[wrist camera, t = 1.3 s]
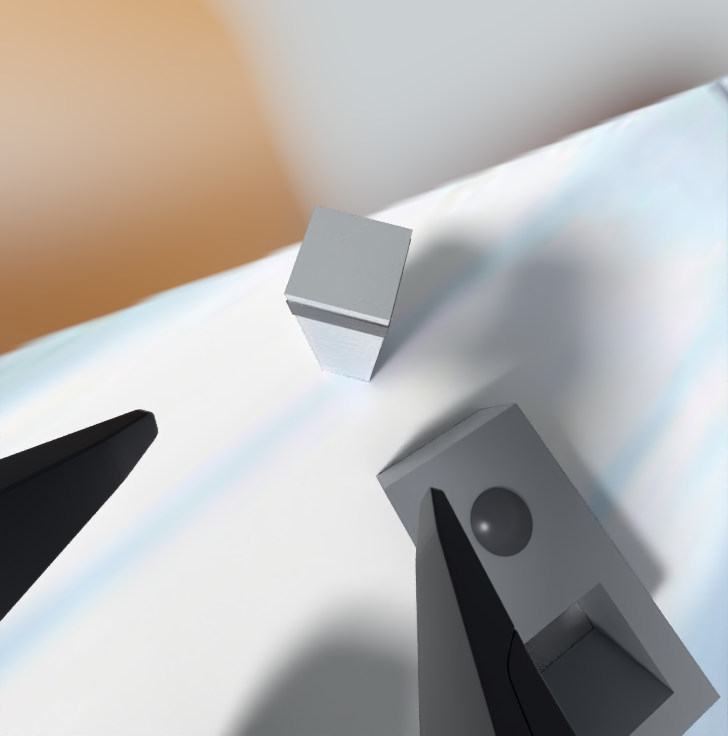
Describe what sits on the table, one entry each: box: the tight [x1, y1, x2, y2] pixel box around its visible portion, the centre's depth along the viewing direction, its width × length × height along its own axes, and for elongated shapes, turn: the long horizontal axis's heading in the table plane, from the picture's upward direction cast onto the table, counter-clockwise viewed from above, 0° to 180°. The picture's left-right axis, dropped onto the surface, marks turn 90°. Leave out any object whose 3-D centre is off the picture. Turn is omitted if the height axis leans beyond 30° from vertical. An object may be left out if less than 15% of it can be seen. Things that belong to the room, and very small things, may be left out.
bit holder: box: [376, 403, 720, 736], centre depth 18 cm, size 10×18×5 cm, turn 31°
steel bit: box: [284, 205, 412, 382], centre depth 17 cm, size 4×4×13 cm
